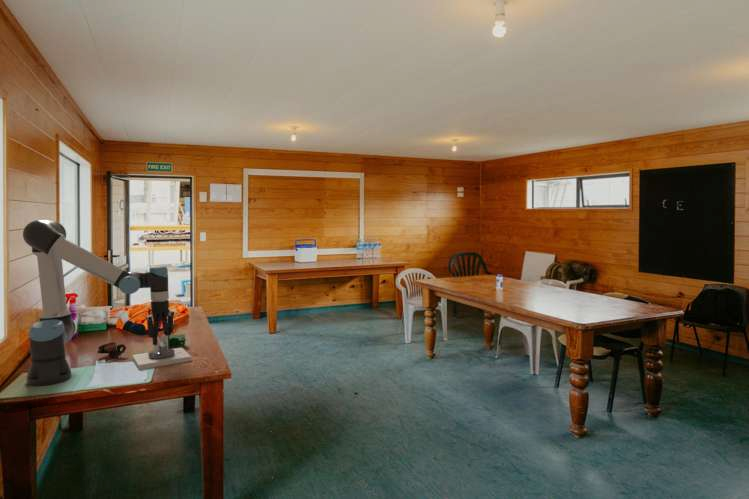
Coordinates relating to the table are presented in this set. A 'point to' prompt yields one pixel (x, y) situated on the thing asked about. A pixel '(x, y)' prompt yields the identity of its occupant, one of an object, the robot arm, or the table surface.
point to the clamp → (176, 340)
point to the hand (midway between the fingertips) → (161, 350)
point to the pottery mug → (111, 350)
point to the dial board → (146, 362)
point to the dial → (161, 352)
